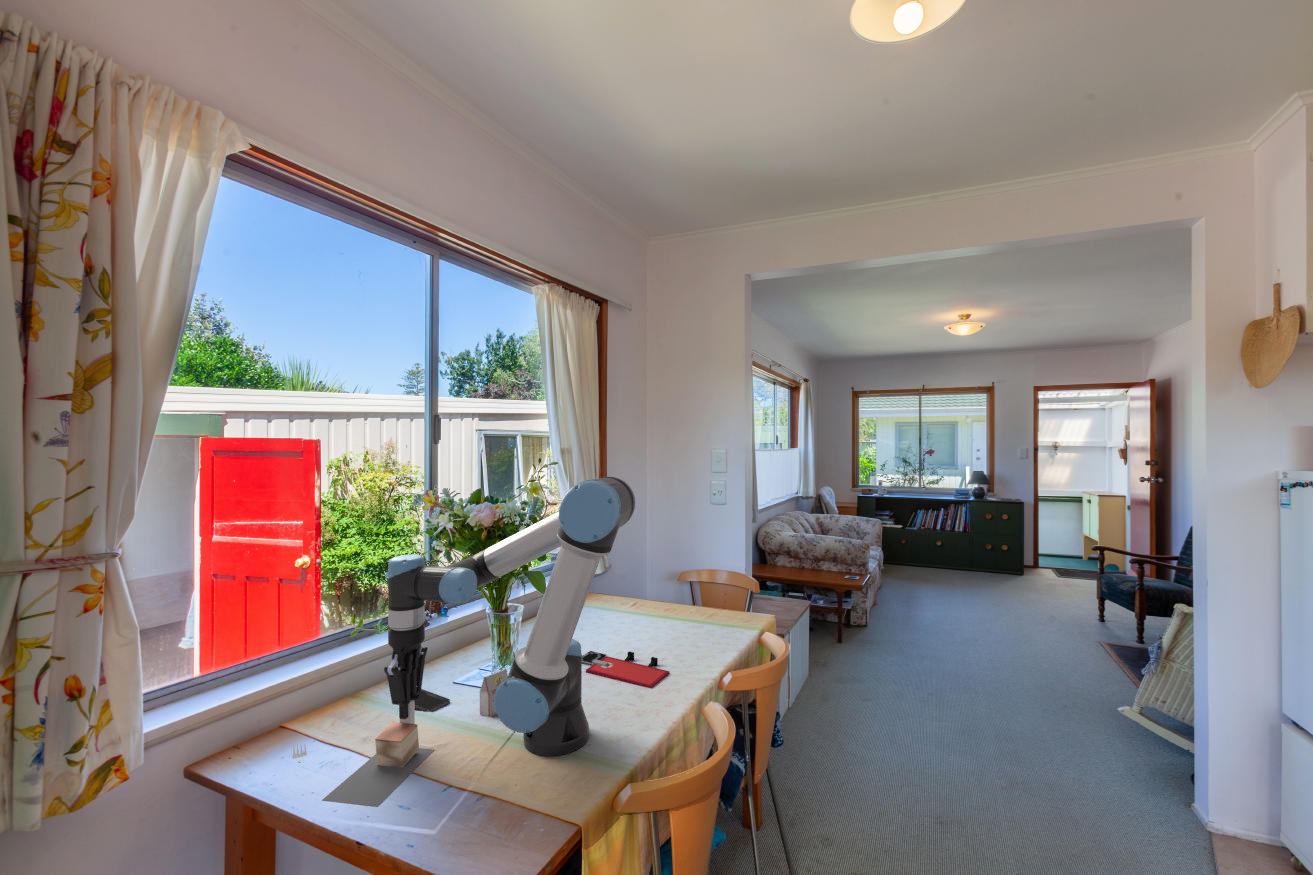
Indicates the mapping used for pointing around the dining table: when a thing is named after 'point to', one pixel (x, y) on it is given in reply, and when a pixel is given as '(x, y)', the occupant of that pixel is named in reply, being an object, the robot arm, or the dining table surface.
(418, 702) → the phone
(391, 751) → the cube
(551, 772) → the dining table surface
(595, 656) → the red board with handle
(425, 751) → the mat
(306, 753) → the fork
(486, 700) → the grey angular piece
